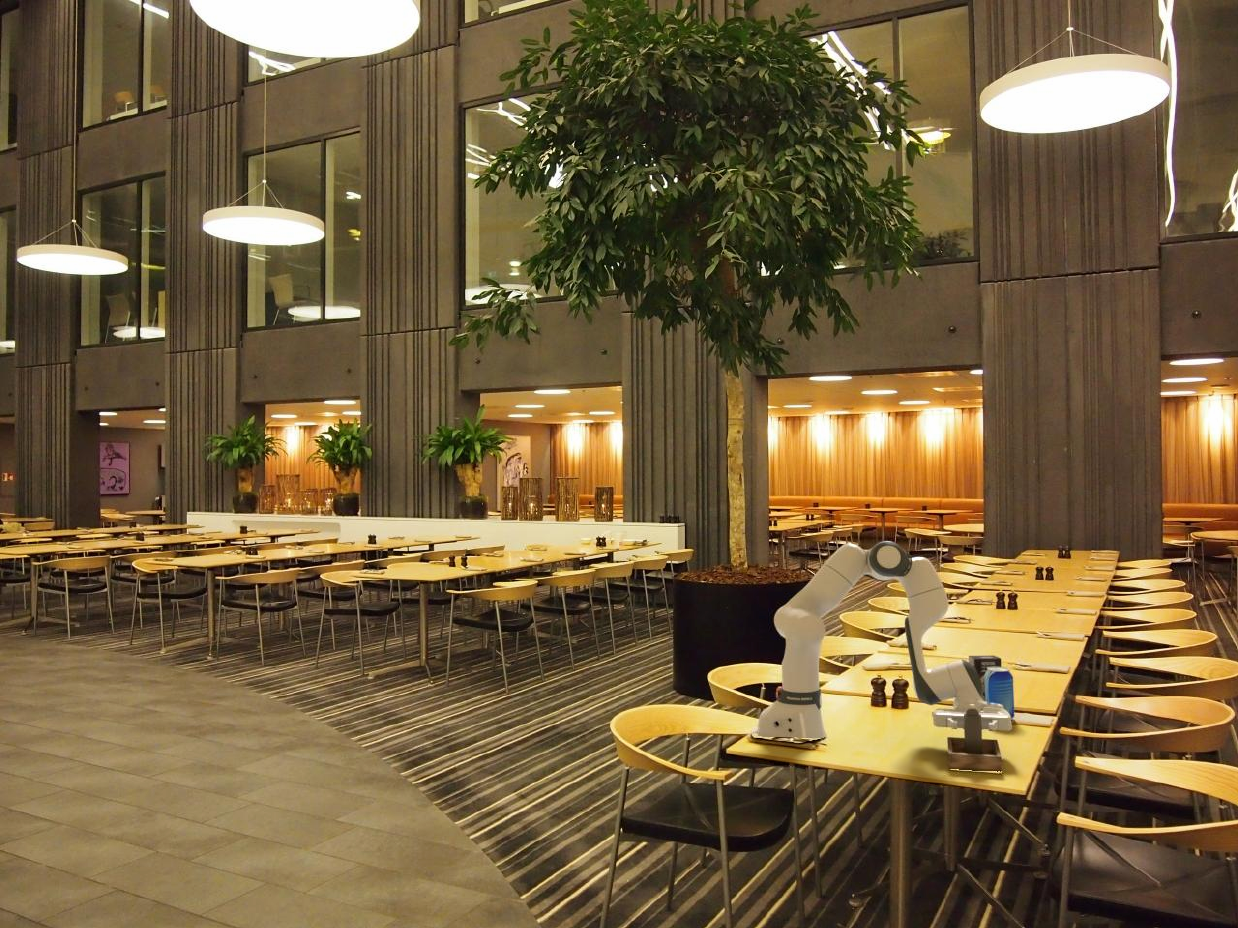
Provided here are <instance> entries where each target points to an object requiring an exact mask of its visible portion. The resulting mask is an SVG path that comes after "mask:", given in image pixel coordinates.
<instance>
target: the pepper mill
mask: <svg viewBox="0 0 1238 928" xmlns="http://www.w3.org/2000/svg"><path fill="white" fill-rule="evenodd" d="M969 707H970V708H969V709H968V710H967V711H966V713H965V714H964V729H963V730H964V733H963V734H964V735H963V736H964V738H965V753H967V754H982V739H983V733H982V732H983V730H982V724H981V715H980V714H979V712H978V711H977V709H975V705H974V704H970V705H969Z"/></svg>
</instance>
